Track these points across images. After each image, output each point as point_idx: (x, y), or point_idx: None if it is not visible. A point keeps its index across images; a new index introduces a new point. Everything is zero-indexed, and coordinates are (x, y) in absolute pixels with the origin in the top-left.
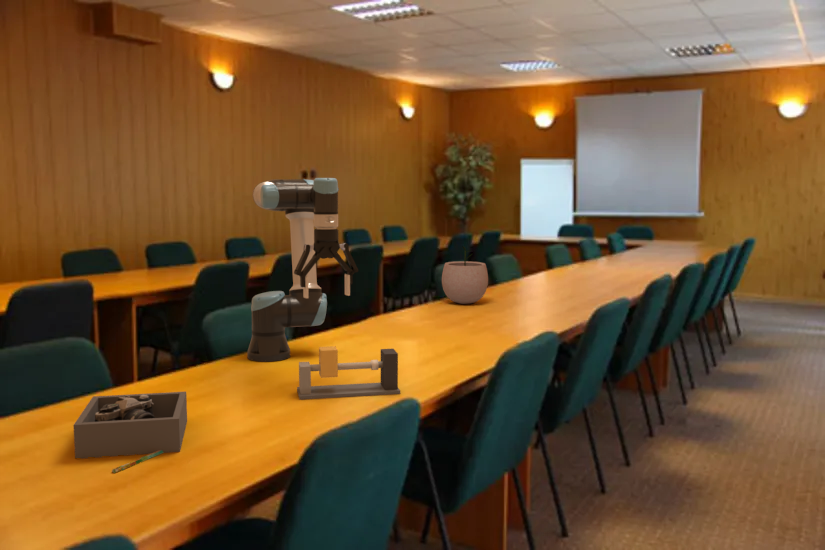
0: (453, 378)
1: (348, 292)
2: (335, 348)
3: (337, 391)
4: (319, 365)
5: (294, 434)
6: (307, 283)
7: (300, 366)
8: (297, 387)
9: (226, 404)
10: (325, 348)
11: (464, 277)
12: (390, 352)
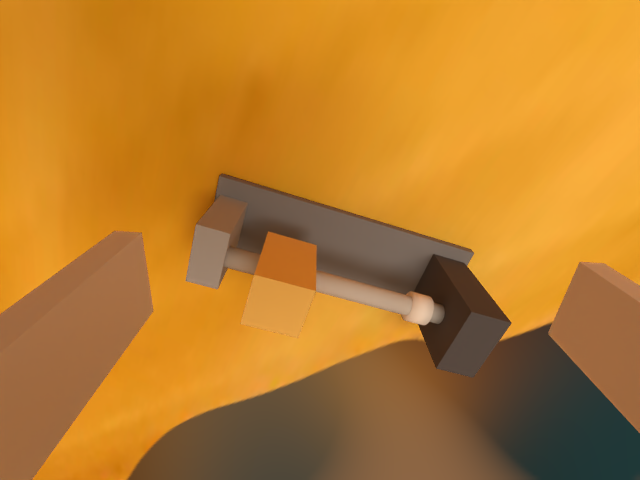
0: (634, 267)
1: (576, 355)
2: (301, 317)
3: None
4: (253, 274)
5: (150, 410)
6: (37, 453)
7: (187, 275)
8: (219, 180)
9: (21, 205)
10: (268, 303)
11: None
12: (465, 358)
